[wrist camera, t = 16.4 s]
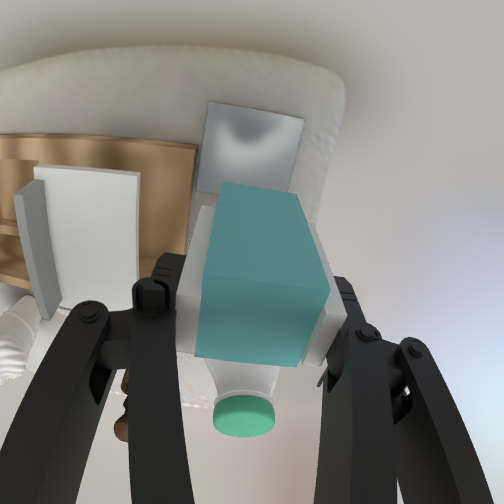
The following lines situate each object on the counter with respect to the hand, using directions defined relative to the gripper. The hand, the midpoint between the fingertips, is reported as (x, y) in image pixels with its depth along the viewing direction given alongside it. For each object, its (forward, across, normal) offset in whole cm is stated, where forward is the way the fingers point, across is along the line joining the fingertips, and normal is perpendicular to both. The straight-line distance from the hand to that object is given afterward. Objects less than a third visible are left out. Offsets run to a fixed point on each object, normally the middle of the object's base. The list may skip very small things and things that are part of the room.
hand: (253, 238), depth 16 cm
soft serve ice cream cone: (+17, -30, -27) cm, 44 cm away
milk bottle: (+17, +2, -14) cm, 22 cm away
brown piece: (+17, -19, -7) cm, 26 cm away
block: (+2, 0, 0) cm, 2 cm away
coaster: (+17, 0, 0) cm, 17 cm away
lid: (+14, -12, -8) cm, 20 cm away
